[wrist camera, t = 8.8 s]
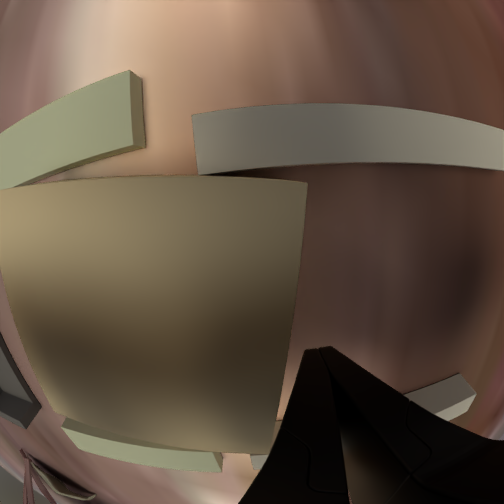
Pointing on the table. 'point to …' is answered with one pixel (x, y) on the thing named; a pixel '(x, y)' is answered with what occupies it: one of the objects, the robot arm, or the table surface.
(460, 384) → the twin beige slats
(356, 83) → the table surface
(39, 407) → the tray
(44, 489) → the flower
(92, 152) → the bars
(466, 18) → the table surface
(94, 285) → the maple block
